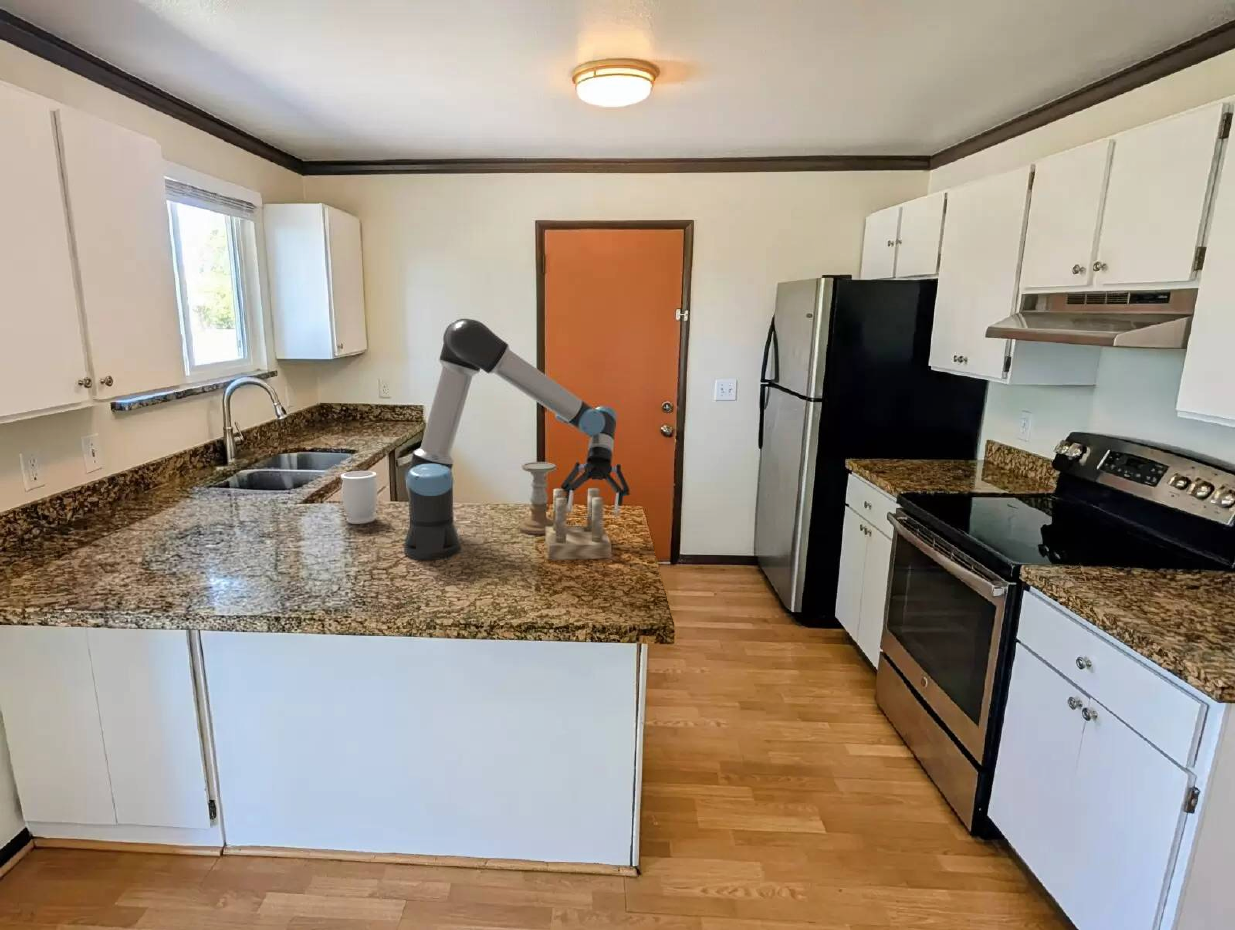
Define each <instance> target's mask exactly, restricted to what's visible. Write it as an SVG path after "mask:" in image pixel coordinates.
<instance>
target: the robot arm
mask: <svg viewBox="0 0 1235 930" xmlns="http://www.w3.org/2000/svg"><path fill="white" fill-rule="evenodd" d="M442 341H443V344H442V348H441V352H440V355H439V359H438V361H439V363H440V364H441V366H442V367H441V368H442V369H441V373H440V376H439V380H438V383H437V387H436V391H435V394H434V398H433V401H432V404H431V408H430V411H429V415H428V420H427V422H426V427H425V430H424V433H423V434H424V435H423V436H422V441H421V444H420V447H419V448H417V449H415V450H413V452H412V457H411V458H410V459H411V460H410V464H409V466H407V469H406V470H405V473H404V483H405V484H404V485H405V488H406V491H407V495H408V510H409V511H408V512H409V513H408V514H409V526H408V530H407V533H406V536H405V540H404V543H403V553H404V555H405V556H406V557H408V558H410V559H414V560H421V561H423V560H424V561H425V560H426V561H428V560H429V561H431V560H432V561H433V560H440V559H441V560H442V559H446V558H449V557H450V558H451V557H453V556H455V555H457V554H459V553H460V552H461V545H462V543H461V539H460V536H459V533H458V530H457V528H456V526H455V525H456V524H455V523H454V522H455V521H454V489H453V488H454V477H453V473H452V470H453V465H454V463H455V462H454V459H453V458H452V456H451V454H452V450H453V446H454V443H455V439H456V437H457V433H458V432H457V431H458V428H459V425H460V422H461V417H462V415H463V410H464V408H465V404H466V400H467V397H468V393H469V390H470V386H471V383H472V379H473V377H474V376H475V375H477V374H479V373H480V371H481V370H482V371H484V372H486V374H488V375H489V374H495V375H497V376H498V377H499V378H501V379H502V380H503V381H505V382H507V383H508V384H510V385H511V386H513V387H515V389H516V390H519V392H521V393H523V394H525V395H526V396H527V397H528V398H531V399H532V400H534V401H536V403H538V404H540V405H541V406H542V407H544V408H546V409H547V410H549V411H550V412H551V413H553V414H554V415H555V419H556V420H557V421H559V422H562V424H566V425H568V426H570V427H573V429H576V430H577V431H580V432H581V433H582V434H584V435H587V436H589V440H588V441H589V442H588V448H587V449H588V450H587V455H586V462H585V464H581V463H580V462H579V461H576V462H575V463H574V468H573V469H572V470H571V472H570V473H569V475H568V476H567V477H566V478H565V479H564V481H563V482H562V483H561V485H560V489H564V493H565V496H564V498H566V499H567V515H572V507H573V502H574V492H575V491H576V490H577V489H579V487H581V486H583V484H584V483H585V482H587V481H589V480H590V479H591V480H592V481H593V480H599V481H603V480H605V481H606V482H607V483H608V484H609V485H610V486H611V488H612V489H613V490H614V491H615V492H616V493H615V502H614V510H613V515H614V517H615V518H618V513H619V507H622V506H623V501H624V497H625V496H630V494H631V492H630V487H629V485H628V484H627V482H626V478H625V477H624V474H623V473H622V468H621V464H620V463H619V464H618V463H617V465H615V466H613V465H612V461H613V451H614V443H615V442H614V441H615V435H616V434H615V433H616V427H617V413H616V411H615V410H614V409H613V408H611V407H609V406H604V405H600V406H598V407H596V408H594V407H592V406H591V405H589V404H587V403H586V402H585V401H583V400H582V399H581V398H580V397H578V396H576V395H575V394H574V393H572V392H571V391H569V390H567V388H565V387H563V386H562V385H561V384H559V383H558V382H556V381H555V380H554V379H552V378H551V377H550V376H548V375H547V374H545V373H544V372H542V371H540V369H537V368H536V367H535V366H534V365H532V364H531V363H529V362H528V361H526V360H525V359H523V358H522V357H520V356H519V355H518V354H516V353H514V352H513V351H512V350H510V345H509V344H508V343H507V342H506V341H504V340H503V339H502V338H500V337H499V336H498V335H497V334H496V333H494V332H493V331H492V330H491V329H490V328H489V327H487V325H485V324H484V323H483V322H481V321H479V320H476V319H470V318H459V319H456V320H454V321H452V322H451V323H450V324H449V325H448V326H447V327H446V329H445V331H444V333H443V339H442ZM583 470H584V471H583ZM582 471H583V473H582V474H581V475H580V476H579V477H578V475H579V474H580V473H581V472H582ZM612 472H613V473H614V474H616V476H617V479H618V481H619V483H620V485H621V487H622V488H621V487H620V485H619V484H618V483H617V481H616V480H615V479H614V478H613V477H612V475H611V473H612Z"/></svg>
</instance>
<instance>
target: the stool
mask: <svg viewBox="0 0 1235 930" xmlns="http://www.w3.org/2000/svg"><path fill="white" fill-rule="evenodd" d="M552 494H553V496H552V497H553V501H552V502H553V505H552V506H553V507H552V510H553V511H552V513H553V515H552V520H553V526H546V528H545V534H544V535H545V539H544V540H545V545H546V550H547V557H548V560H549V561H551V560H552V561H553V560H556V561H557V560H582V559H583V560H584V559H585V560H588V559H589V560H590V559H611V558H612V543H611V540H610V539H609V536H608V534H607V532H606V529H605V528H604V525H603V524H604V498H603V497H601V496H599V497H594V498H592V532H587V525H567V523H568V522H567V519H568V511H567V507H568V503H567V499H566V498H565V492H564V489H561V488H554V489H553V493H552Z"/></svg>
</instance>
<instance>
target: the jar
mask: <svg viewBox="0 0 1235 930" xmlns="http://www.w3.org/2000/svg"><path fill="white" fill-rule="evenodd" d="M376 478H377V473H376V472H375V471H369V470H353V471H348V472H344V473H342V474H340V479H341V480H342V482H341V483H342V484H341V499H342V504H343V508H344V512H345V513H346V515H347V518H346V522H347V523H349V524H354V525H362V524H363V525H364V524H368V523H369V524H370V523H372V522H373V521H375V520H376V517H375V515H374V513H375V512H376V509H377V503H378V502H377V501H378V485H377V482H376Z"/></svg>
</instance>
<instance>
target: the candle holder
mask: <svg viewBox="0 0 1235 930" xmlns="http://www.w3.org/2000/svg"><path fill="white" fill-rule="evenodd" d="M521 469H522V470H523V471H525V472H529V473H530V475H531V476H532V481H531V482H530V485H531V486H532V490H531V494H530V496H529V501H530V503H531V504H530V505H529V507H528V508H529V509H528V510H530V511H531V516H530V517H527V518H525V519H524V520H522V521H520V523H518V529H519V531H520V532H522V533H525V534H528V535H545V528H546V526H553V518H550V517H547V511H548V510H549V506H548V505H547V502H548V500H549V498H548V495H547V491H546V486H547V485H548V482H546V479H545V477H546V476H547V475H548V473H549V472H553V471H555V470H557V465H556V464H554V463H552V462H547V461H546V462H545V461H533V462H525V463H523V464H522V465H521Z"/></svg>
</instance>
